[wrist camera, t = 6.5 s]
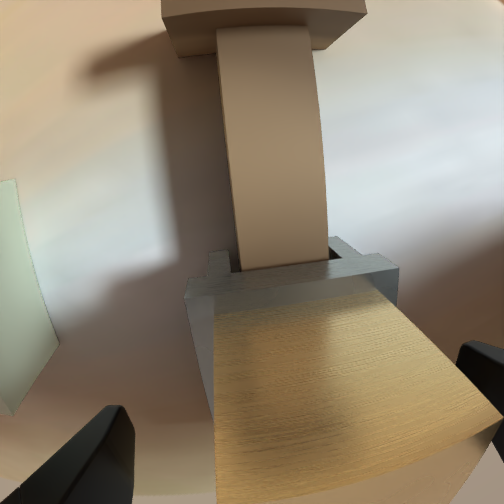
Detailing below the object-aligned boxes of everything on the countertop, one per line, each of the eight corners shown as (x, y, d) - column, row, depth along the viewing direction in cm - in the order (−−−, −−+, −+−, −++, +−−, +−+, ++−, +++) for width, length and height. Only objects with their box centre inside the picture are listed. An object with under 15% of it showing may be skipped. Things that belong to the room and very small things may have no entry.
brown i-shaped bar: (176, 26, 8) (160, -22, 5) (320, 19, 9) (358, -24, 5) (231, 417, 13) (236, 477, 10) (336, 399, 13) (361, 453, 10)
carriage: (193, 254, 10) (152, 488, 3) (350, 234, 11) (539, 377, 3) (216, 377, 12) (227, 580, 4) (347, 356, 12) (443, 523, 4)
